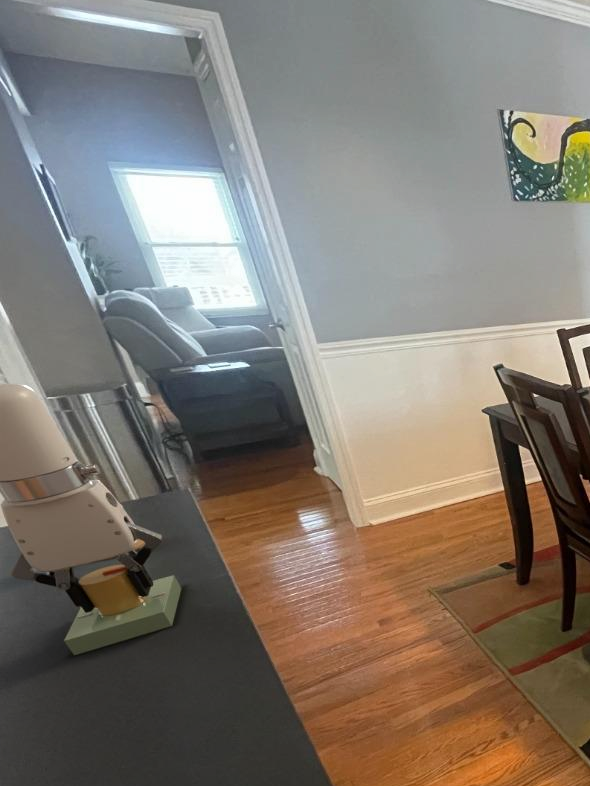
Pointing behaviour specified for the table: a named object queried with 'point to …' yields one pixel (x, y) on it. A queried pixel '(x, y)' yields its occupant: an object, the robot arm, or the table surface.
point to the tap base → (126, 619)
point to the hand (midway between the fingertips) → (119, 598)
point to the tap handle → (111, 590)
